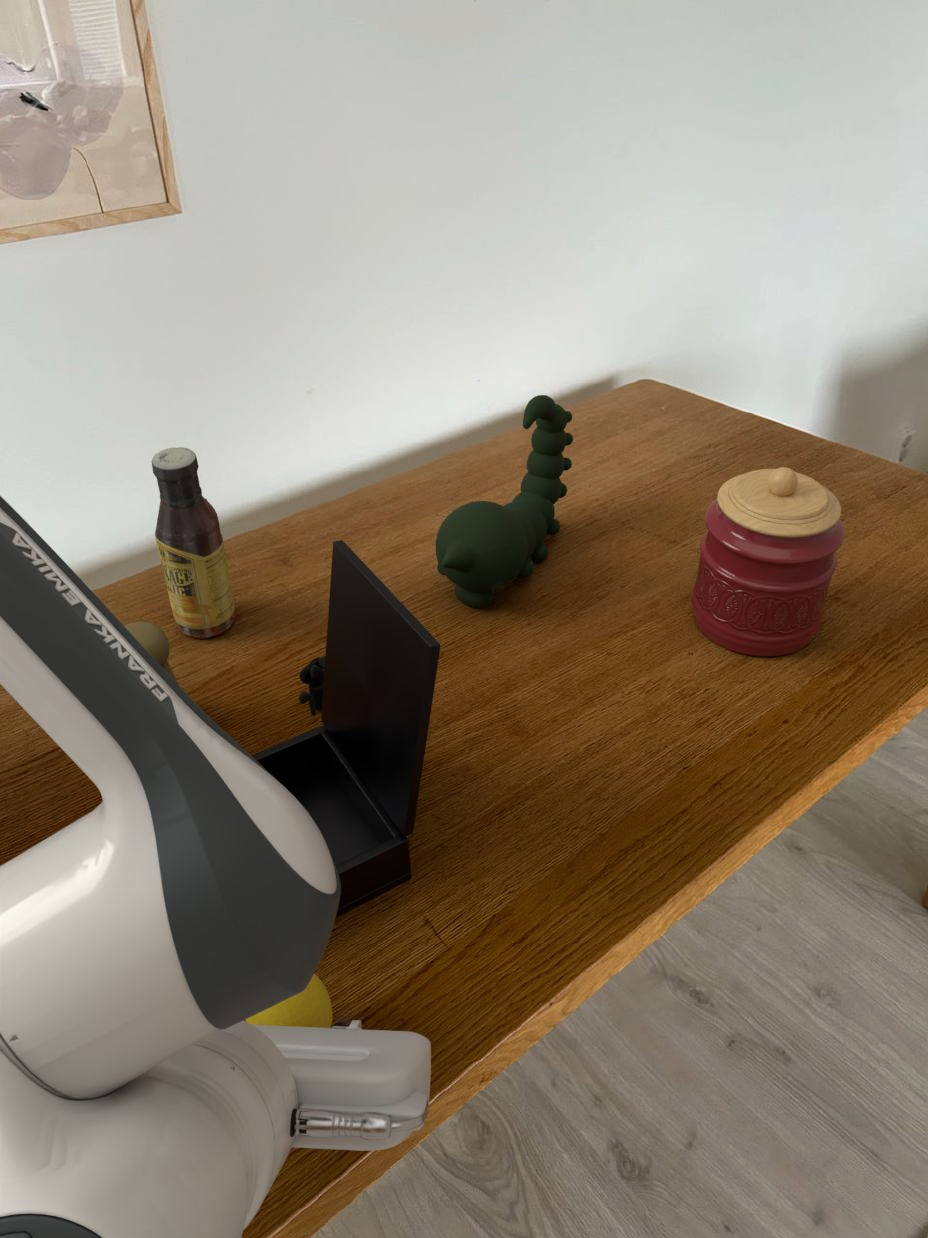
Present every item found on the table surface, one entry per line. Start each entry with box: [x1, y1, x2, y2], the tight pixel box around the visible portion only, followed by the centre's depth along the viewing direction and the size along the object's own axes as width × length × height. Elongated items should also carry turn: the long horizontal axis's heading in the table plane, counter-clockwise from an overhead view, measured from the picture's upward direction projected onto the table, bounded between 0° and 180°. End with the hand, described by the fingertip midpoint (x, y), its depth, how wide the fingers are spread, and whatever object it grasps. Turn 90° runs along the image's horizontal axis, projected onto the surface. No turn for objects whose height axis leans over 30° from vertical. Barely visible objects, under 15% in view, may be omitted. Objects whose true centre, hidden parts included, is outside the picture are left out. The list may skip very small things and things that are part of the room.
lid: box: [320, 539, 442, 837], centre depth 74 cm, size 18×15×1 cm
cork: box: [123, 621, 180, 686], centre depth 87 cm, size 6×6×11 cm
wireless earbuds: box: [298, 655, 325, 717], centre depth 91 cm, size 7×2×5 cm, turn 149°
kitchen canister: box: [691, 466, 846, 657], centre depth 96 cm, size 13×13×18 cm
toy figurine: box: [435, 394, 574, 609], centre depth 103 cm, size 9×19×25 cm
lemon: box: [245, 973, 334, 1028], centre depth 64 cm, size 6×6×8 cm
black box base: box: [250, 724, 412, 918], centre depth 77 cm, size 17×15×5 cm
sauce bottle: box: [151, 446, 236, 640], centre depth 96 cm, size 6×6×20 cm
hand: (270, 1030), depth 58 cm, fingers open, 8 cm apart
